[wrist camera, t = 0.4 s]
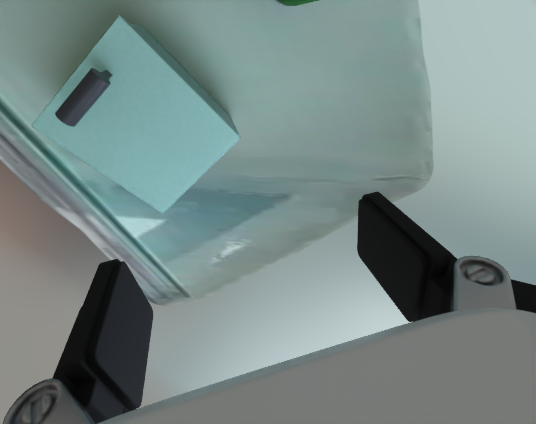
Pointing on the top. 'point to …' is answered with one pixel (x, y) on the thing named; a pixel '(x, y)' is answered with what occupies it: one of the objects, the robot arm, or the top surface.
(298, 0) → the soda can
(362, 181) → the top surface
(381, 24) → the top surface
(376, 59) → the top surface
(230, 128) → the lid
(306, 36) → the top surface
